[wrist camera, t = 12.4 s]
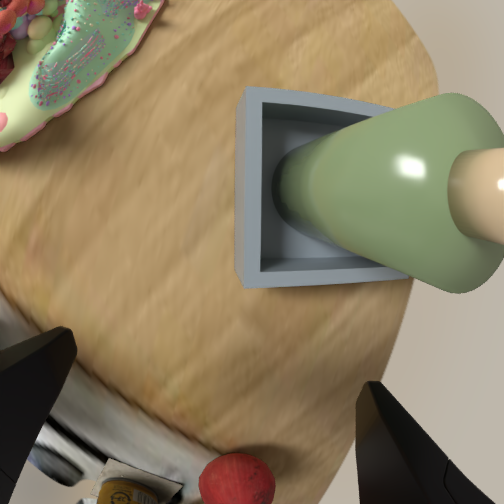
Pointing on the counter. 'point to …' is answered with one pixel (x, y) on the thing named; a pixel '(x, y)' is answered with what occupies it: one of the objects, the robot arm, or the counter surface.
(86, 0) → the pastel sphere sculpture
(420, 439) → the robot arm
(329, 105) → the tub
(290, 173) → the bottle
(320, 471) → the counter surface
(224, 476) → the pomegranate
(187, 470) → the counter surface
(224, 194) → the counter surface
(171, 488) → the condiment
